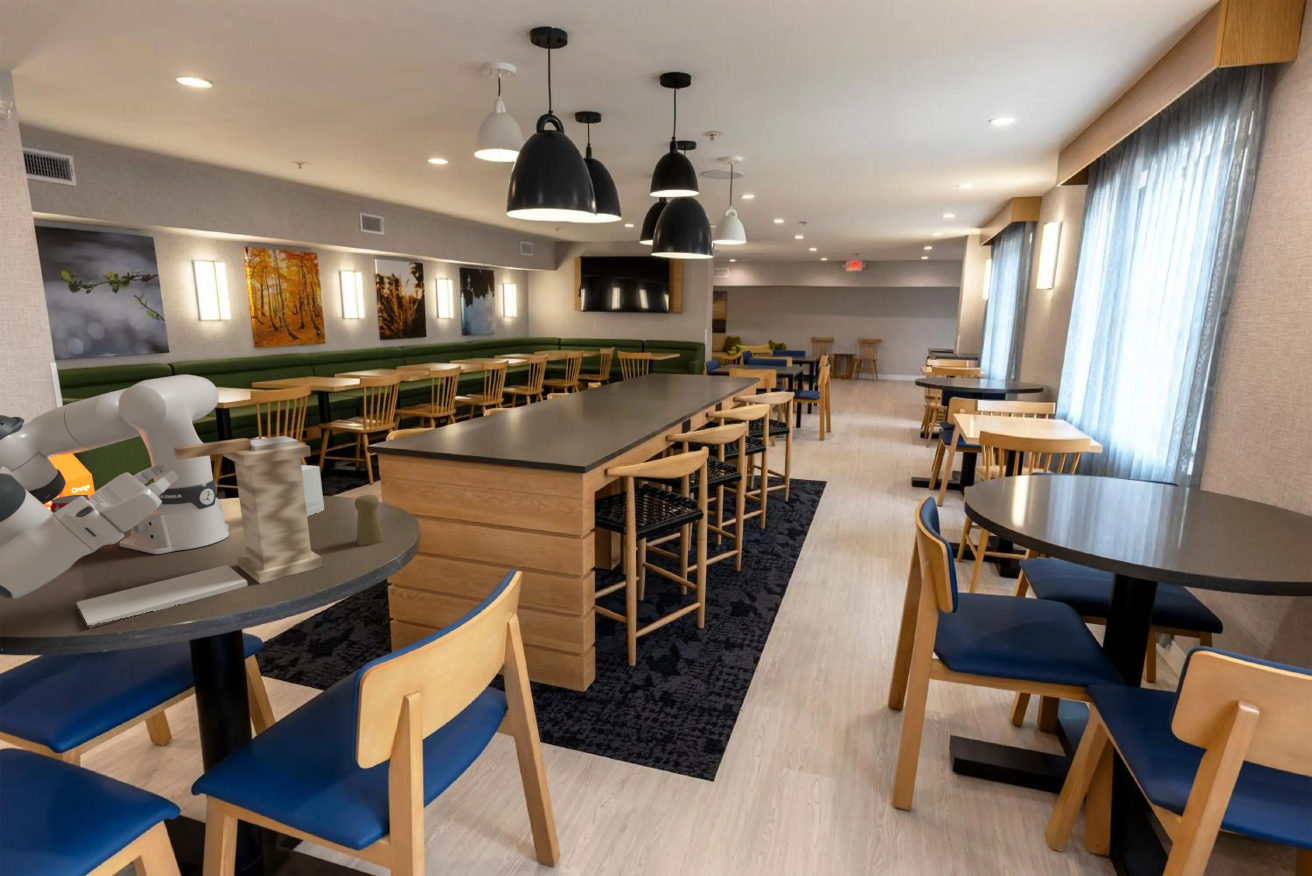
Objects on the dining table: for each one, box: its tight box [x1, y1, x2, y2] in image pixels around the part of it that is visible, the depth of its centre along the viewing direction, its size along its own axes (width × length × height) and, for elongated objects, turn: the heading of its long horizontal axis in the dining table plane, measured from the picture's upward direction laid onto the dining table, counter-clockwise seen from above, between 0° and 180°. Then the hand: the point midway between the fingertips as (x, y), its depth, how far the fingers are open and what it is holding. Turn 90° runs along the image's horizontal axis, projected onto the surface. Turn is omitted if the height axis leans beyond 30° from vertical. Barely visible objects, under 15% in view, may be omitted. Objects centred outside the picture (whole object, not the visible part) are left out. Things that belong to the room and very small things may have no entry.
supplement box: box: [301, 464, 325, 518], centre depth 174 cm, size 7×7×13 cm
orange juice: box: [44, 453, 96, 511], centre depth 157 cm, size 8×9×20 cm
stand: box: [222, 442, 324, 584], centre depth 136 cm, size 12×14×26 cm
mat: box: [76, 564, 249, 626], centre depth 124 cm, size 24×13×1 cm, turn 138°
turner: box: [174, 435, 300, 460], centre depth 129 cm, size 20×8×2 cm, turn 137°
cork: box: [354, 494, 385, 546], centre depth 152 cm, size 6×6×11 cm
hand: (169, 469), depth 121 cm, fingers open, 8 cm apart
